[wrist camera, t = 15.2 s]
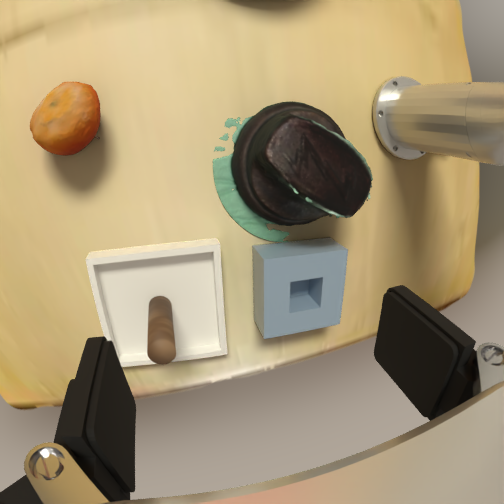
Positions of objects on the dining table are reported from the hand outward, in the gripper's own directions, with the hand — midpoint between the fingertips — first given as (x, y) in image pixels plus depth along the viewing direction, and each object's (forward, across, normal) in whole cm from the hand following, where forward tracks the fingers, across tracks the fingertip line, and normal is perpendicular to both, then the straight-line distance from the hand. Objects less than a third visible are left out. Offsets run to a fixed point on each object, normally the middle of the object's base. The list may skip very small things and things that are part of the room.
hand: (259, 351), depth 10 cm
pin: (+29, +6, +14) cm, 32 cm away
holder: (+30, -12, +14) cm, 35 cm away
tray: (+29, +6, +14) cm, 33 cm away
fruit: (+30, +13, -10) cm, 34 cm away
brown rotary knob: (+31, -12, -2) cm, 33 cm away
